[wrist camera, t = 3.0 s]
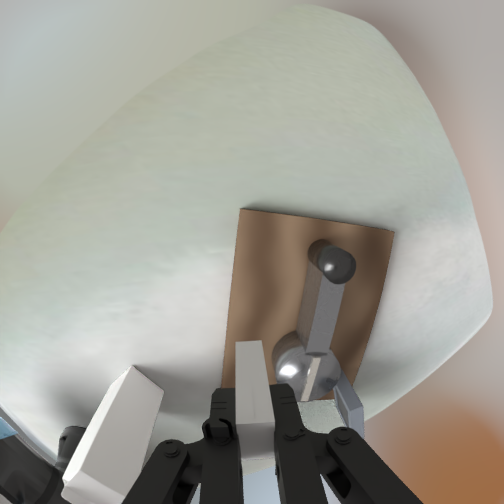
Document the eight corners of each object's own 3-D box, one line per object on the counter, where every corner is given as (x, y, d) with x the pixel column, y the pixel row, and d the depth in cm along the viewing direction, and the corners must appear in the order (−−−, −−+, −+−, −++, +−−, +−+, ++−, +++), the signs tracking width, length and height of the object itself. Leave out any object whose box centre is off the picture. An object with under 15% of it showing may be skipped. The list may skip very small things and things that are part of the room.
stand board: (220, 390, 34) (220, 398, 33) (240, 208, 30) (240, 209, 28) (344, 391, 36) (348, 399, 34) (387, 230, 31) (395, 232, 29)
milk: (142, 407, 35) (102, 526, 13) (111, 382, 34) (52, 497, 12) (165, 390, 34) (128, 525, 13) (131, 363, 33) (68, 493, 11)
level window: (336, 406, 34) (352, 443, 27) (330, 372, 33) (350, 411, 25) (353, 400, 34) (372, 435, 27) (349, 366, 33) (372, 402, 25)
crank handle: (320, 376, 33) (333, 406, 27) (267, 376, 32) (273, 408, 26) (352, 243, 29) (377, 255, 23) (291, 235, 29) (305, 246, 23)
